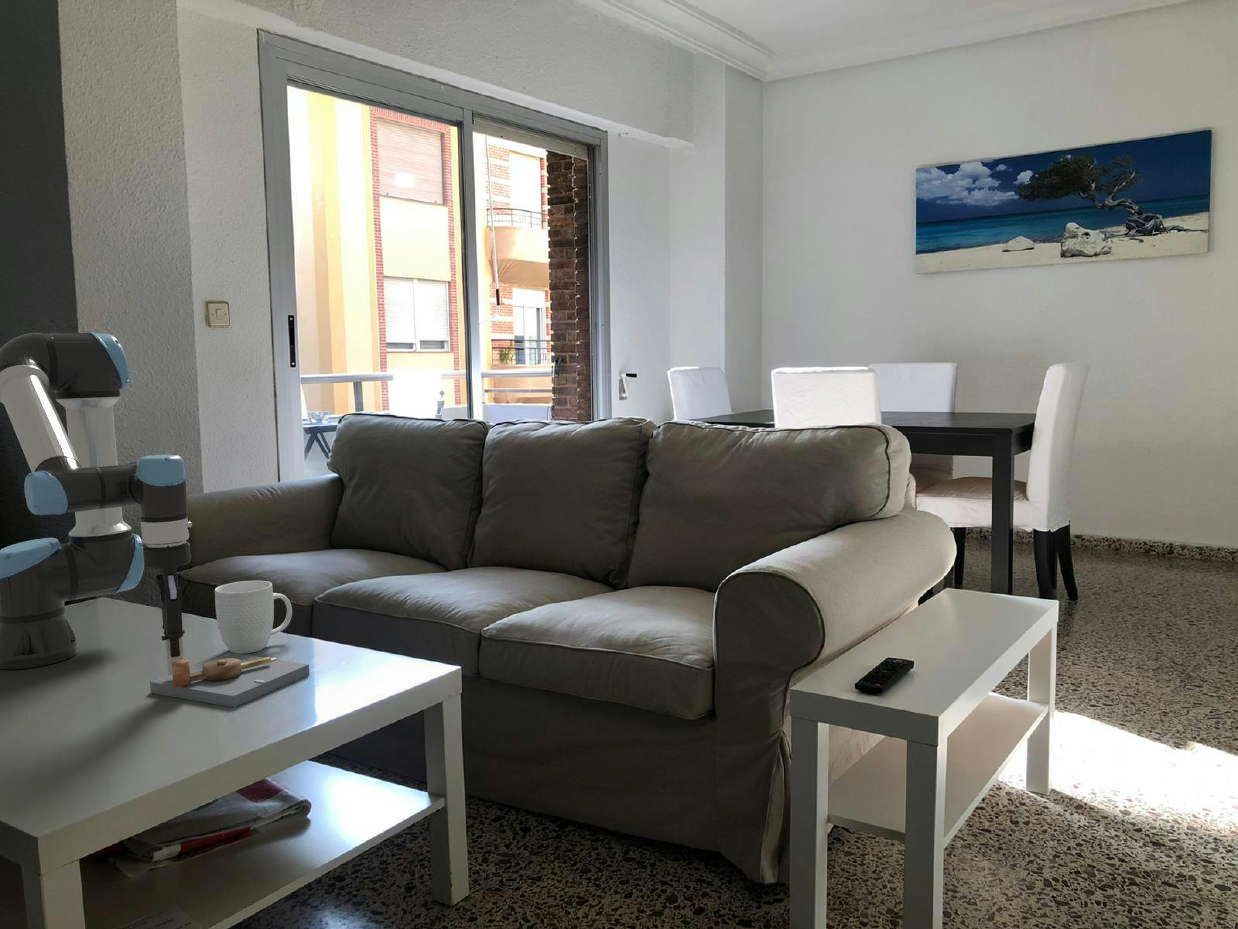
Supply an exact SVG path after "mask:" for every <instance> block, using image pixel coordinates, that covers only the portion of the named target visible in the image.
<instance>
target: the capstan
mask: <svg viewBox="0 0 1238 929" xmlns="http://www.w3.org/2000/svg"><path fill="white" fill-rule="evenodd" d="M271 658H272V657H270V656H267V657H262V658H261V659H257V660H253V661H249V662H244V663H241V661H240V660H239V659H234V658H225V659H218V660H213V661H210V662H207V663H205V664H204V665H203V666H202V669H203V671H199V672H194V673H190V667H191V666H190V660H189V659H184V660H177V661H174V662H172V676H173V686H174V687H183V686H187V685H189V684H191V682H193V681H198V680H202V679H205V680H211V681H218V680H226V679H230V678H234V677H236V676H238V675H240V674H241V670H242V669H246V668H250V667H254V666H259V665H263V664H267V663H271Z"/></svg>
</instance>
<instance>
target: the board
mask: <svg viewBox="0 0 1238 929" xmlns="http://www.w3.org/2000/svg"><path fill="white" fill-rule="evenodd" d="M225 658H234V659H239V660H240V661H241V663H244V662H249V661H253V660H257V659H261V658H263V657H261V656H254V655H247V654H236V653H232V652H228V653H227V652H226V653H225V654H221V655H220V656H216V657H213V658H212V659H209V660H206V661H203V662H200V663H198V664H194V665H192V666H190V673H194V672H199V671H203V669H202V666H203V665H204V664H205V663H207V662H210V661H213V660H218V659H225ZM270 658H271V663H267V664H263V665H259V666H254V667H250V668H246V669H242V670H241V674H240V675H238V676H236V677H234V678H230V679H226V680H218V681H211V680H205V679H202V680H198V681H193V682H191V684H189V685H187V686H183V687H174V686H173V676H172V675H168V674H167V675H165V676H162V677H159V678H157V679H154V680H151V681H150V682H149V685H150V686H149V687H150V693H151V694H156V695H161V696H168V697H174V698H179V699H184V700H190V701H195V702H201V703H206V704H212V705H218V706H225V707H228V708H236V706H237V707H239V706H241V705H244V704H246V703H248V702H250V701H252V700H255V699H257V698H259V697H262V696H264V695H267V694H269V693H271V692H272V691H276V690H278V689H280V688H283V687H285V686H287V685H289V684H291V683H294V682H296V681H298V680H300V679H303V678H306V677H308V676H310V665H309V664H308V663H302V662H295V661H290V660H281V659H278V658H277V657H270ZM277 688H278V689H277ZM275 689H276V690H275ZM270 691H271V692H270ZM254 698H255V699H254ZM245 702H246V703H245ZM238 705H239V706H238Z"/></svg>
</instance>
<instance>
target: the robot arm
mask: <svg viewBox="0 0 1238 929" xmlns="http://www.w3.org/2000/svg"><path fill="white" fill-rule="evenodd" d="M129 378H130V370H129V365H128V360H127V356H126V354H125V350H124V348H123V346H122V345H121V343H120V341H119V340H118V338H116V337H115V336H114V335H112V334H109V333H101V332H99V333H98V332H89V331H88V332H49V333H48V332H46V333H45V332H30V333H29V332H28V333H25V334H21V335H18V336H16V337H14V338H11V339H10V340H8V342H6V343H4V344H3V345H2V346H1V347H0V403H2V404H3V406H4V408H5V411H6V413H7V415H8V418H9V421H10V423H11V425H12V427H13V428H12V429H13V430H14V432H15V435H16V437H17V440H18V442H19V445H20V447H21V449H22V452H23V454H24V457H25V460H26V463H28V466H29V469H30V471H31V472H30V473H28V474H27V475H26V476H25V479H24V488H23V490H24V495H25V499H26V505H27V508H28V510H29V511H30V512H31V514H33V515H35V516H46V515H47V516H49V515H56V516H57V515H63V514H70V513H74V514H75V525H74V527H73V528H71V530H70V531H69V532H68V542H67V543H61V542H60V541H59V539H58V538H55V537H44V538H40V539H39V538H36V539H31V540H27V541H21V542H17V543H15V544H11V545H8V546H6V547H4V548H1V549H0V669H1V670H21V669H31V668H32V669H33V668H38V667H43V666H47V665H52V664H55V663H60V662H63V661H65V660H68V659H70V658H73V657H75V656H76V655H77V654H78V653H79V642H78V639H77V637H76V634H75V632H74V631H73V629H72V627H71V624H70V623H69V620H68V618H67V616H66V608H65V602H69V601H74V600H80V599H86V598H90V597H98V596H104V595H110V594H111V595H116V594H118V593H120V592H124V591H130V590H133V589H134V588H136V587H137V585H139V583H140V581H141V579H142V577H143V573H144V569H145V567H146V568H147V569H153V570H157V569H159V574H156V575H155V583H156V585H157V588H158V589H157V590H158V598H159V599H160V604H161V605H160V607H161V616H162V629H163V636H162V635H161V636H160V637H161V641H164V648H165V660H166V661H165V662H166V664H165V665H166V674H167V675H172V662H174V661H177V660H185V659H184V646H183V636H184V634H185V629H183V613H182V612H183V611H182V600H183V593H182V592H183V589H182V586H183V576H182V574H181V572H178V570H177V569H178V567H183V566H186V565H188V564H189V563H191V561H192V555H191V553H192V552H191V543H190V542H188V541H187V540H189V538H190V530H189V529H188V528H192V527H193V522H191V521H188V520H189V519H188V517H189V515H188V497H187V496H188V495H187V483H186V481H187V480H186V479H187V473H186V470H185V463H184V459H183V457H181V456H180V455H178V454H153V455H152V454H151V455H145V456H141V457H139V458H138V459H137V461H130V462H127V463H125V464H119V463H118V461H119V460H118V450H117V438H116V428H115V427H116V426H115V415H114V406H115V404H116V403H117V402H118V401H119V400H120V399H121V391H123V390H125V389H126V388H127V387H128V386H129V382H130V380H129ZM49 392H53V393H55V401H56V402H57V403H59V404H60V405H61V406H63V407H64V409H65V417H66V426H67V432H66V429H65V427H64V424H63V423H62V420H61V418H60V415H59V414H58V411H57V409H56V407H55V404H54V402H53V400H52V398H51V396H50V393H49ZM130 506H139V510H140V511H139V513H140V531H141V537H140V535H139V534H135V533H133V529H132V526H131V525H130V524H128V523H127V522H125V521H124V520H123V508H124V507H130ZM122 507H123V508H122Z"/></svg>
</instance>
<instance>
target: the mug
mask: <svg viewBox="0 0 1238 929" xmlns="http://www.w3.org/2000/svg"><path fill="white" fill-rule="evenodd" d="M273 588H274V587H273V583H272V582H271V581H268V580H267V581H266V580H243V581H242V580H241V581H235V582H231V583H225V584H222V585H218V586H217V587H215V589H214V602H215V604H214V606H215V615H216V622H217V623H216V624H217V628H218V631H219V632H218V633H219V635H220V637H221V640H222V641H223V644H224V645H225V647H226V648H227V649H228V650H229V651H230V653H235V654H241V655H247V654H252V653H256V652H259V651H262V650H263V649H265V648H266V647H267V645H268V643H269V641H270V638H271V636H274V635H276V634H278V633H281V632H282V631H284V630H285V629H286V628H287V626H289V624H290V622H291V619H292V616H293V607H292V604H291V601H290V599H289V598H288V597H287V596H286V595H285V594H282V593H277V592H274V590H273ZM276 599H281V600H282V601H283V602H284V604H285V607H286V616H285V619H284V621H283V622H282V623H281V624H280V625H279V626H278V627H276V628H274V627H273V626H274V619H275V618H274V617H275V610H274V609H275V604H274V603H275V602H274V601H275V600H276Z"/></svg>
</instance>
